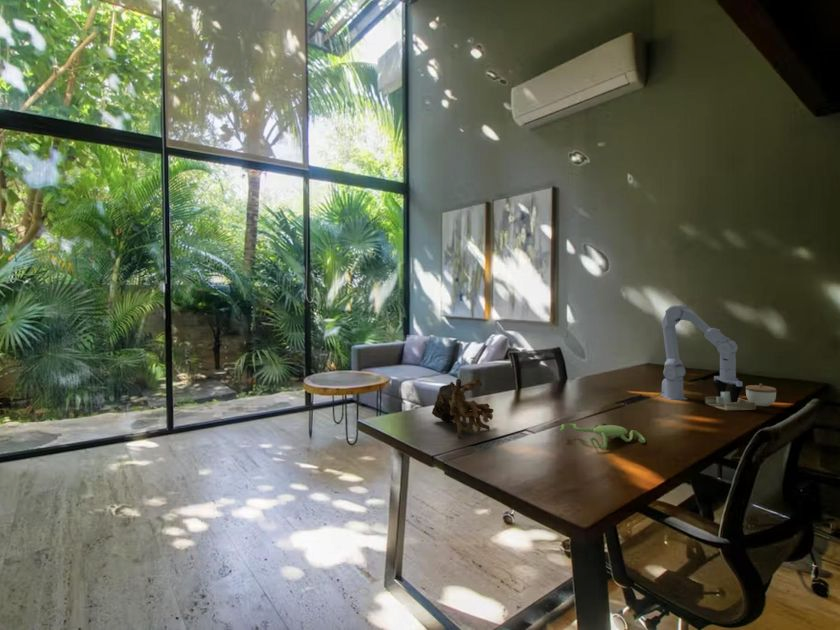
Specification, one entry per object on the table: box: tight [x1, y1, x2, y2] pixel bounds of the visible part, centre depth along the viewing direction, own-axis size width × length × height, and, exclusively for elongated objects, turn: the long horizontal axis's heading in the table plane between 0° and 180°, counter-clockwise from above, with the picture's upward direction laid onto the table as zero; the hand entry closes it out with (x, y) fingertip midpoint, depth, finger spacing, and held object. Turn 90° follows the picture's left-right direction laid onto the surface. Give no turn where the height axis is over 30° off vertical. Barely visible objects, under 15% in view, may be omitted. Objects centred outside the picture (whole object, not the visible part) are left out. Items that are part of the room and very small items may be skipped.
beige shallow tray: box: [704, 395, 757, 411], centre depth 194 cm, size 13×13×3 cm
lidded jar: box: [745, 383, 777, 407], centre depth 195 cm, size 11×11×9 cm
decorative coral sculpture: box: [431, 378, 494, 438], centre depth 172 cm, size 26×23×30 cm
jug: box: [715, 390, 735, 407], centre depth 194 cm, size 5×7×6 cm
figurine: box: [558, 423, 646, 453], centre depth 154 cm, size 18×27×6 cm
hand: (727, 399), depth 194 cm, fingers open, 7 cm apart
